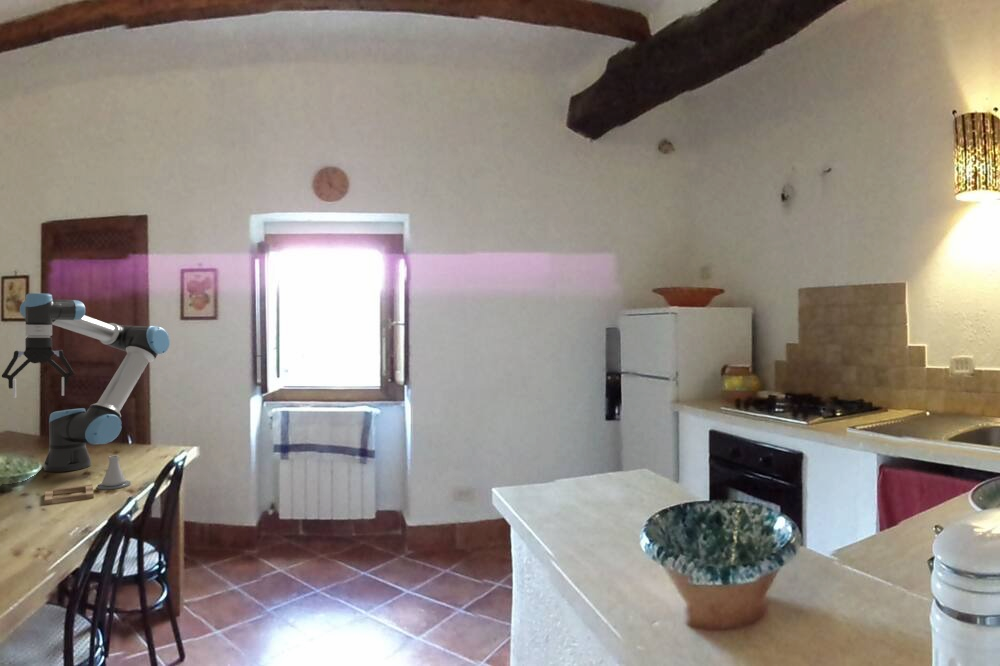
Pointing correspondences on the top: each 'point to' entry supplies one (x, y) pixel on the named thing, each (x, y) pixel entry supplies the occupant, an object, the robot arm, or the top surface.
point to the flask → (113, 473)
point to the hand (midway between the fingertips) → (39, 396)
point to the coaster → (113, 486)
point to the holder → (51, 500)
